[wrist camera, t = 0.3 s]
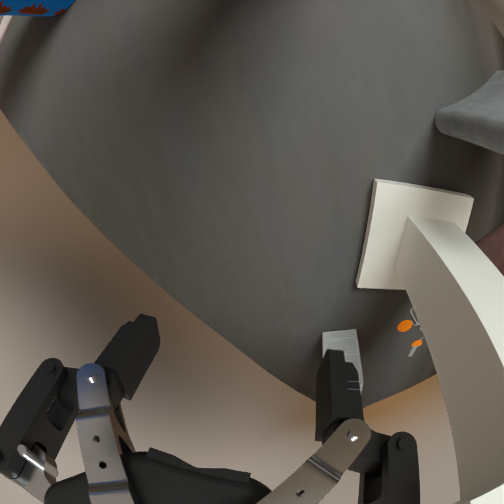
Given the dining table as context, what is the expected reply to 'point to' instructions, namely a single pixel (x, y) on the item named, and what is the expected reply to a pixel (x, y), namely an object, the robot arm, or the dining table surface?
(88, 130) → the dining table surface
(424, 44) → the dining table surface
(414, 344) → the key chain
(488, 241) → the notebook
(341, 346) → the small box
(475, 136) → the hip flask
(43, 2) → the thermos
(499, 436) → the stand
